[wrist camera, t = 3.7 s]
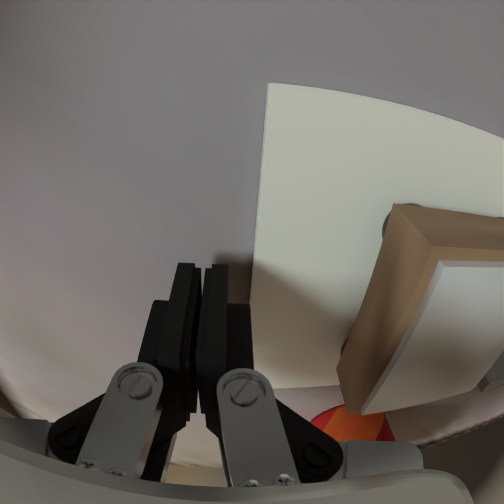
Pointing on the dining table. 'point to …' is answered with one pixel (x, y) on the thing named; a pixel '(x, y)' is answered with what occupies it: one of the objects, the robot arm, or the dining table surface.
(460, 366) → the white wood-edged tile
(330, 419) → the paper cup
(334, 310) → the dock bay
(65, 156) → the dining table surface
